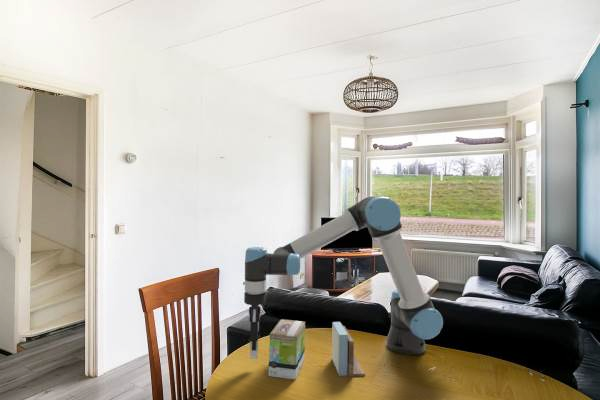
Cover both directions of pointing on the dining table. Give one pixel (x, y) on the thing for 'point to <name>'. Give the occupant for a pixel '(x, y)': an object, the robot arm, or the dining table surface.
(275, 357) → the tea box
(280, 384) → the dining table surface
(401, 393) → the dining table surface
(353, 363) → the bookend
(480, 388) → the dining table surface
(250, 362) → the dining table surface
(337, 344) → the book
